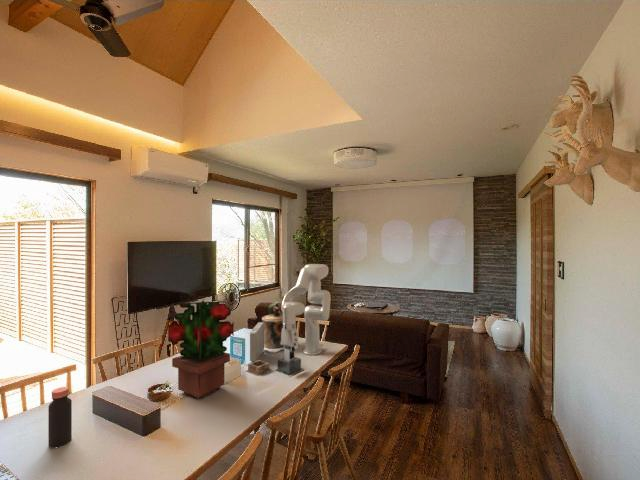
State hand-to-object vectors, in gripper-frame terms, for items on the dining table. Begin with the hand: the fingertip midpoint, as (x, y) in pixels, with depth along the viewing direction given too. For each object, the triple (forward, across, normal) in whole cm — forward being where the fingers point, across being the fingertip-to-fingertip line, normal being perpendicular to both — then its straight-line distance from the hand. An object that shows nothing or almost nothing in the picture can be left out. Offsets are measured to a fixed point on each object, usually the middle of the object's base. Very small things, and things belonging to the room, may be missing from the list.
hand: (289, 357), depth 185 cm
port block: (+8, 0, 0) cm, 8 cm away
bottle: (+8, +22, +101) cm, 104 cm away
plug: (+5, 0, 0) cm, 5 cm away
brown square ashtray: (+8, +13, +12) cm, 20 cm away
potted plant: (+8, +18, +45) cm, 49 cm away
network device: (+8, +32, -3) cm, 33 cm away
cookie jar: (+9, +40, -26) cm, 48 cm away
